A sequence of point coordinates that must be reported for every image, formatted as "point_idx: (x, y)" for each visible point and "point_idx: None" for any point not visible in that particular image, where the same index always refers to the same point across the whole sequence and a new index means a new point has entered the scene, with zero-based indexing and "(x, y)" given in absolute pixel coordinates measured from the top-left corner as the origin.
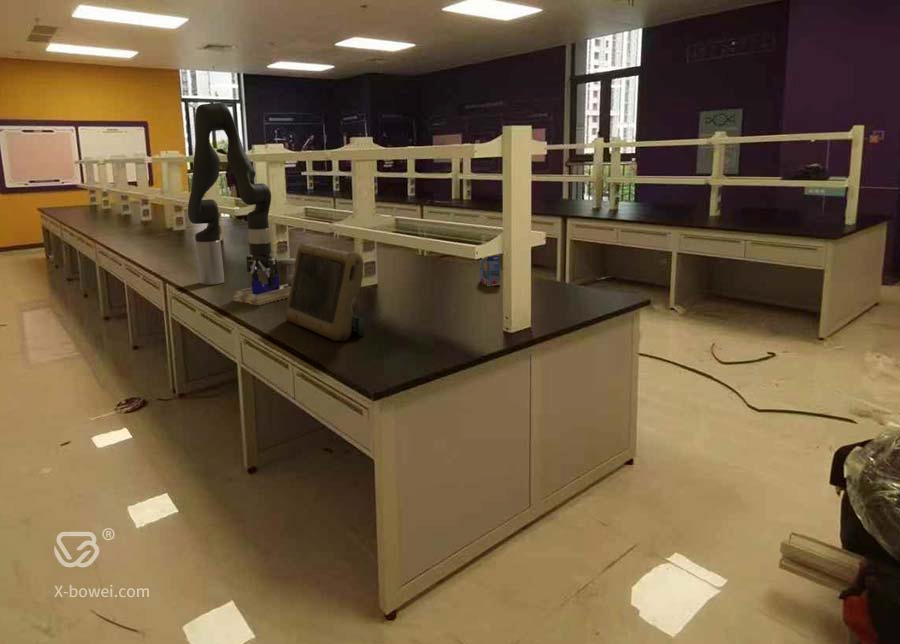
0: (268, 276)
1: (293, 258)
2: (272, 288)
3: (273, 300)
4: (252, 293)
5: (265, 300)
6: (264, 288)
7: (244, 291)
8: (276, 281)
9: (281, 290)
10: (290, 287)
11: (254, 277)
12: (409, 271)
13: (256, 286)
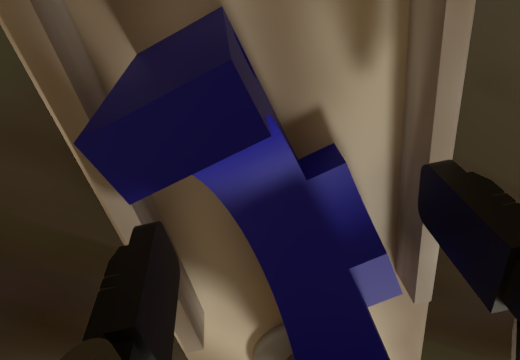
0: (91, 352)
1: None
2: (255, 252)
3: None
4: (400, 97)
5: (26, 63)
6: (329, 209)
7: (433, 2)
8: (290, 336)
9: None
10: (184, 343)
11: (474, 229)
12: None
13: (145, 81)
